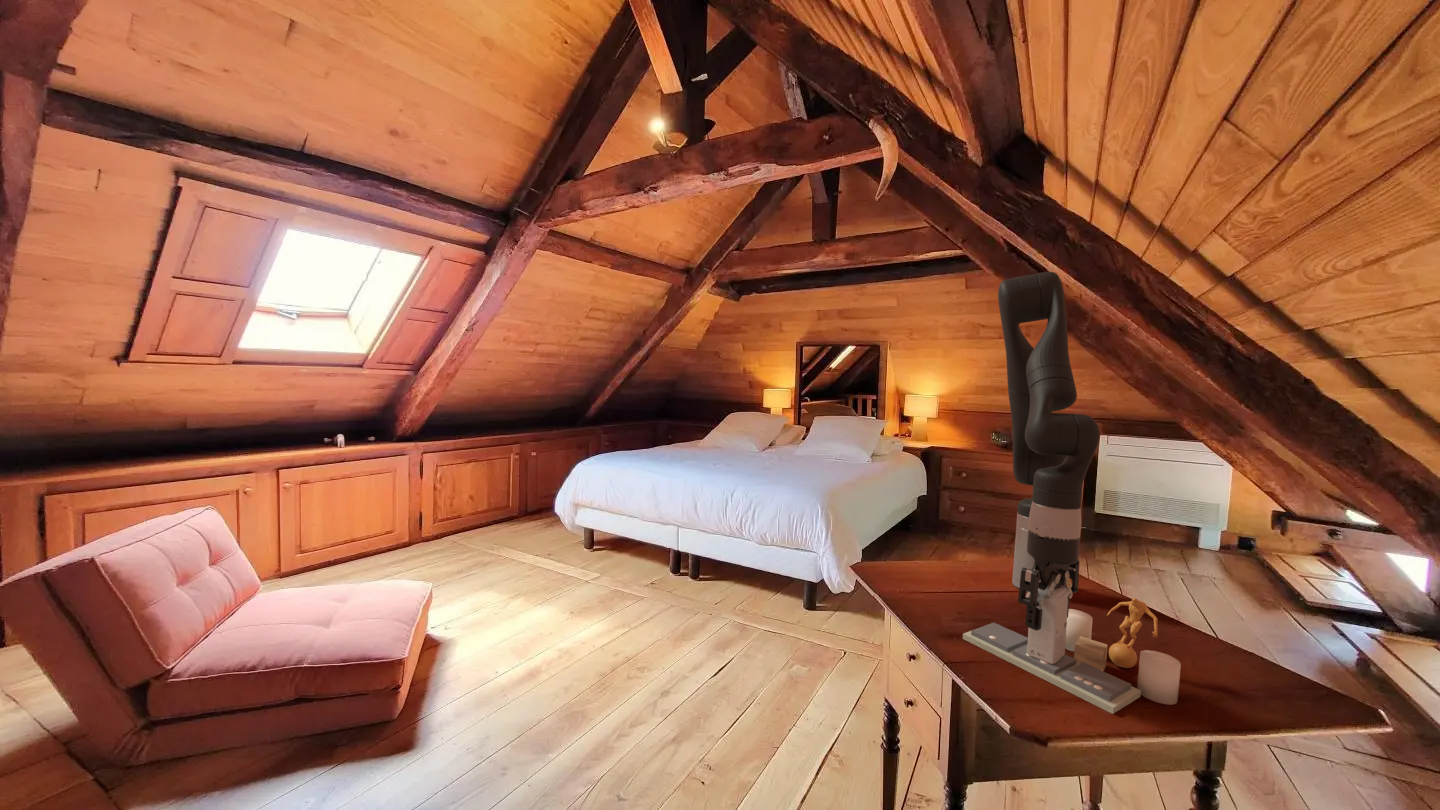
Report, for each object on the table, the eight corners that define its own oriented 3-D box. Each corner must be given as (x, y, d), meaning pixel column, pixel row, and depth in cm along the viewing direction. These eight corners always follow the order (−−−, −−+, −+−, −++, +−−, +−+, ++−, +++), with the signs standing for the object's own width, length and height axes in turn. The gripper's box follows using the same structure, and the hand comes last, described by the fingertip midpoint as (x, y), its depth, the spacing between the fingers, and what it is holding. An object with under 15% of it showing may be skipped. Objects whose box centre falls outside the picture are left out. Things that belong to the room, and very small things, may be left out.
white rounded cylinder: (1066, 636, 104) (1069, 606, 104) (1095, 648, 100) (1098, 617, 99) (1052, 643, 101) (1054, 612, 101) (1081, 655, 97) (1084, 623, 97)
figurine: (1090, 655, 97) (1095, 590, 96) (1115, 651, 99) (1120, 587, 98) (1138, 681, 89) (1144, 611, 88) (1164, 676, 91) (1170, 607, 90)
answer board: (991, 628, 107) (992, 619, 106) (1140, 696, 85) (1141, 685, 85) (962, 638, 102) (963, 629, 102) (1112, 714, 81) (1113, 702, 80)
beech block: (1078, 657, 97) (1080, 636, 96) (1105, 667, 94) (1107, 644, 93) (1073, 666, 94) (1075, 643, 93) (1101, 675, 91) (1103, 653, 91)
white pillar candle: (1145, 682, 89) (1148, 647, 89) (1183, 698, 85) (1186, 662, 84) (1131, 691, 87) (1134, 654, 86) (1169, 708, 82) (1172, 670, 82)
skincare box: (1053, 666, 90) (1059, 595, 89) (1024, 654, 93) (1030, 586, 92) (1066, 653, 94) (1071, 586, 93) (1037, 643, 97) (1042, 577, 96)
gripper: (1053, 519, 99) (1047, 605, 100) (1007, 529, 91) (1001, 622, 93) (1099, 530, 92) (1091, 622, 93) (1054, 542, 85) (1046, 642, 86)
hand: (1046, 622), depth 93 cm, fingers open, 8 cm apart
